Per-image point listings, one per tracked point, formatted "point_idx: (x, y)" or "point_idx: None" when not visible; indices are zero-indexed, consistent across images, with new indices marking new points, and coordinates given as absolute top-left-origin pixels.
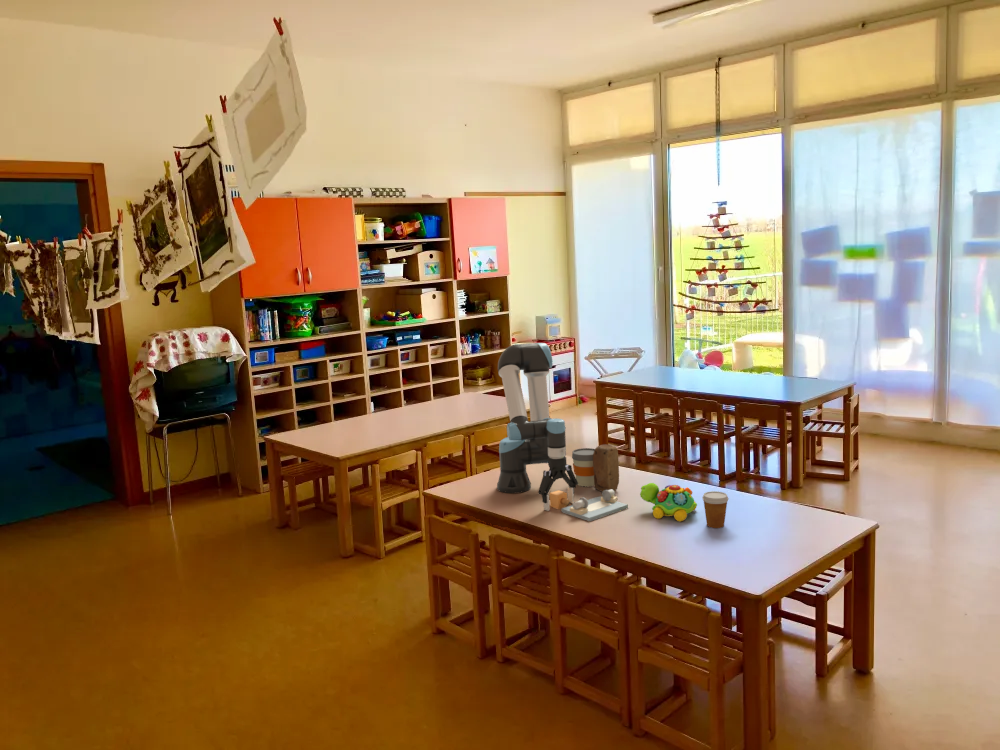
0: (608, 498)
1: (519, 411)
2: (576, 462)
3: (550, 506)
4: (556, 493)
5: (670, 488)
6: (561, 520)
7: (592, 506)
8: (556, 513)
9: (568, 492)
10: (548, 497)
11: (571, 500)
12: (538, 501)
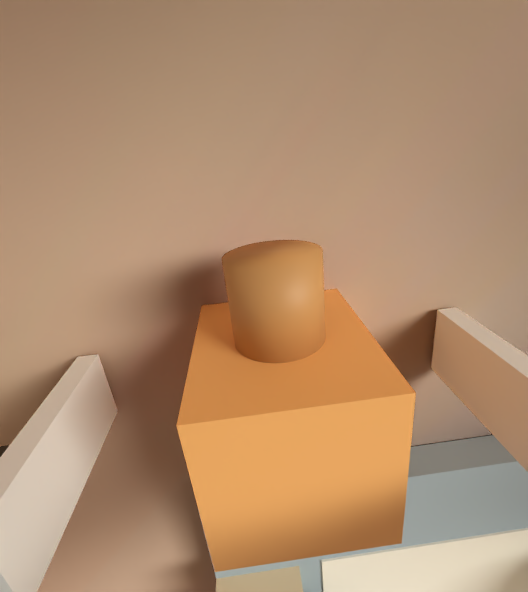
0: None
1: None
2: None
3: (201, 308)
4: (255, 502)
5: None
6: (98, 588)
7: (422, 578)
8: (144, 478)
9: (520, 388)
10: (33, 571)
11: (447, 371)
12: (181, 8)
